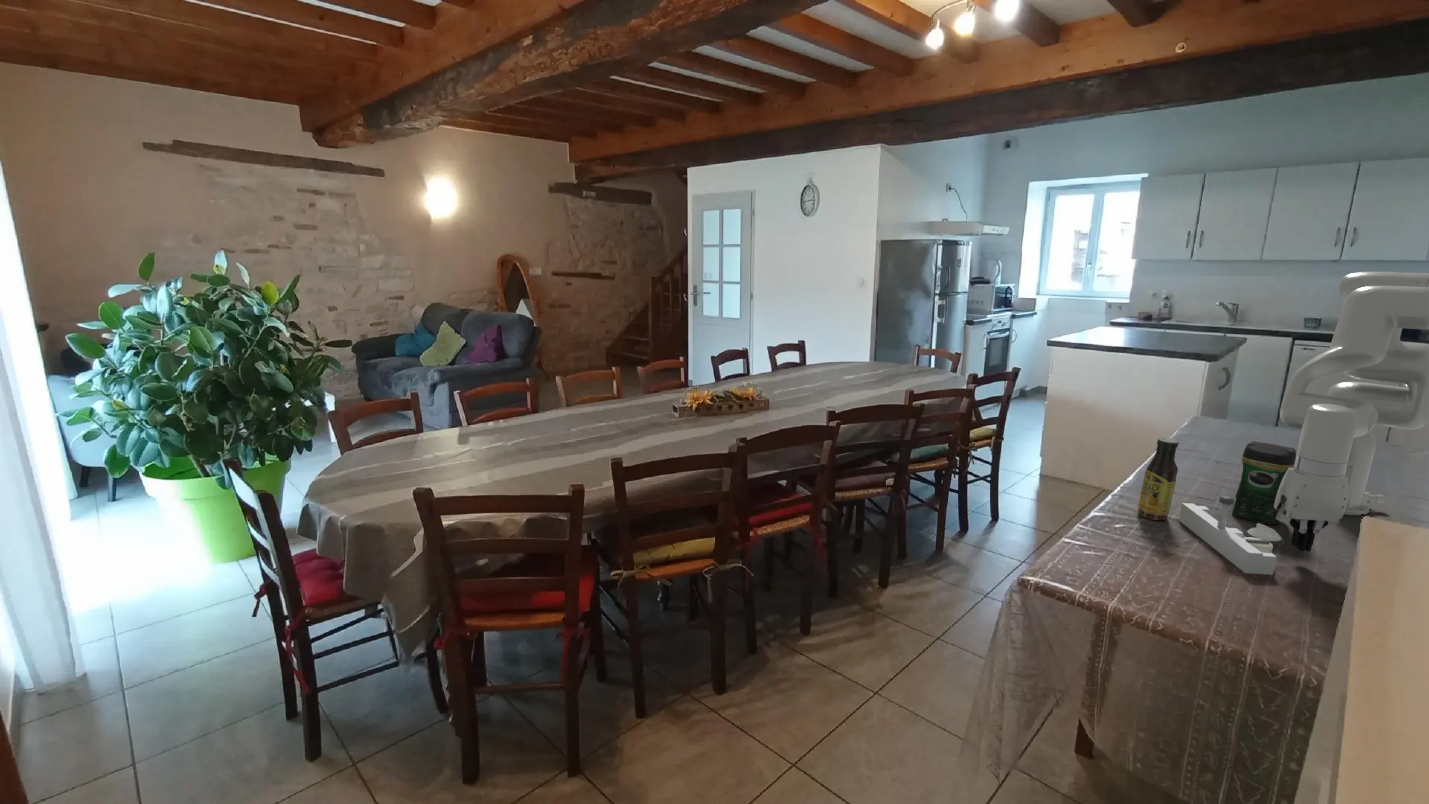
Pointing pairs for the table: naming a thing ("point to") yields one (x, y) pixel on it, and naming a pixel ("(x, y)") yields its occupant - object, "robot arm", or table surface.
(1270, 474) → the coffee jar
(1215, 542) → the mount
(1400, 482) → the table surface
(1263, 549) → the knob slider
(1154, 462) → the sauce bottle
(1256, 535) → the stove knob
